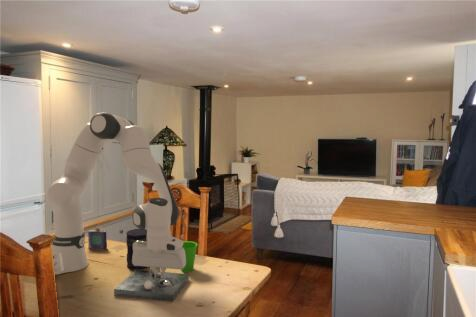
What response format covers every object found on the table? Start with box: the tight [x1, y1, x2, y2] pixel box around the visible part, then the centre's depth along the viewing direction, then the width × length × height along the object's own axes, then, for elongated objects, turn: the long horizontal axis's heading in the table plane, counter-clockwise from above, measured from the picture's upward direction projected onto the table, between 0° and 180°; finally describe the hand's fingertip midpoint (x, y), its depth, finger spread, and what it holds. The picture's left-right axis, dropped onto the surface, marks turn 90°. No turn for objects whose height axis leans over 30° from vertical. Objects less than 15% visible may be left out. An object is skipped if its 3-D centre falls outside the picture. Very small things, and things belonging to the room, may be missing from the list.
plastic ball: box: [144, 281, 153, 289], centre depth 131 cm, size 3×3×3 cm
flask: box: [87, 226, 108, 250], centre depth 180 cm, size 9×3×11 cm, turn 84°
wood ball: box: [149, 267, 161, 274], centre depth 144 cm, size 4×4×4 cm
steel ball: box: [163, 280, 171, 285], centre depth 137 cm, size 3×3×3 cm
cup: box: [180, 240, 199, 273], centre depth 155 cm, size 9×9×11 cm
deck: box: [113, 269, 190, 303], centre depth 138 cm, size 22×18×2 cm
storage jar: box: [125, 228, 148, 271], centre depth 158 cm, size 10×10×15 cm
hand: (159, 278), depth 137 cm, fingers closed
